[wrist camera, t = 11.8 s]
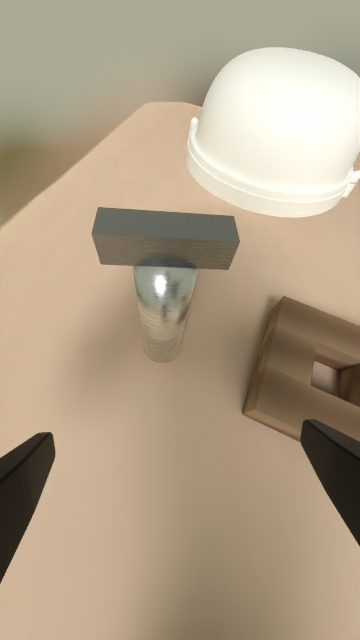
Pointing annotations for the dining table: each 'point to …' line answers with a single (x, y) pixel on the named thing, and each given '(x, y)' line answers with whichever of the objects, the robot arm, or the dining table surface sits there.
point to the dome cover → (278, 133)
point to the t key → (164, 264)
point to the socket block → (305, 371)
